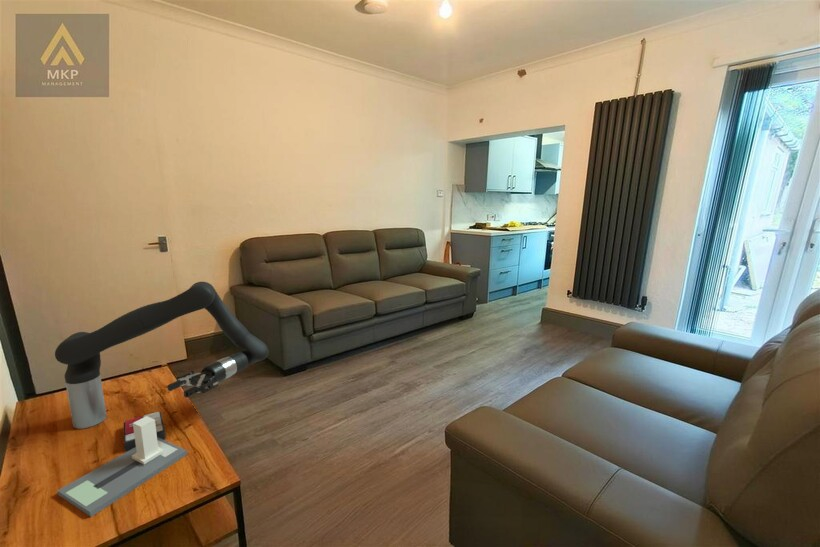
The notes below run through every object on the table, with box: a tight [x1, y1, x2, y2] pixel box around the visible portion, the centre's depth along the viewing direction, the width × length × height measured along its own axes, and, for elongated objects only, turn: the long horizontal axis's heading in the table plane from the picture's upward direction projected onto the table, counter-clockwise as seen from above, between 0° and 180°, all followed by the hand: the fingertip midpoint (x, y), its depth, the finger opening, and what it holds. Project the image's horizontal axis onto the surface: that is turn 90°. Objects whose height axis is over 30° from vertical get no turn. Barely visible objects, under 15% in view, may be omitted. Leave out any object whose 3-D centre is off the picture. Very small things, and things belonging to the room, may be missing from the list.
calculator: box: [122, 411, 166, 453], centre depth 125 cm, size 11×4×15 cm
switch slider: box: [132, 416, 164, 464], centre depth 112 cm, size 6×6×12 cm
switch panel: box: [56, 437, 188, 518], centre depth 108 cm, size 16×26×2 cm, turn 156°
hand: (176, 391), depth 119 cm, fingers open, 8 cm apart
